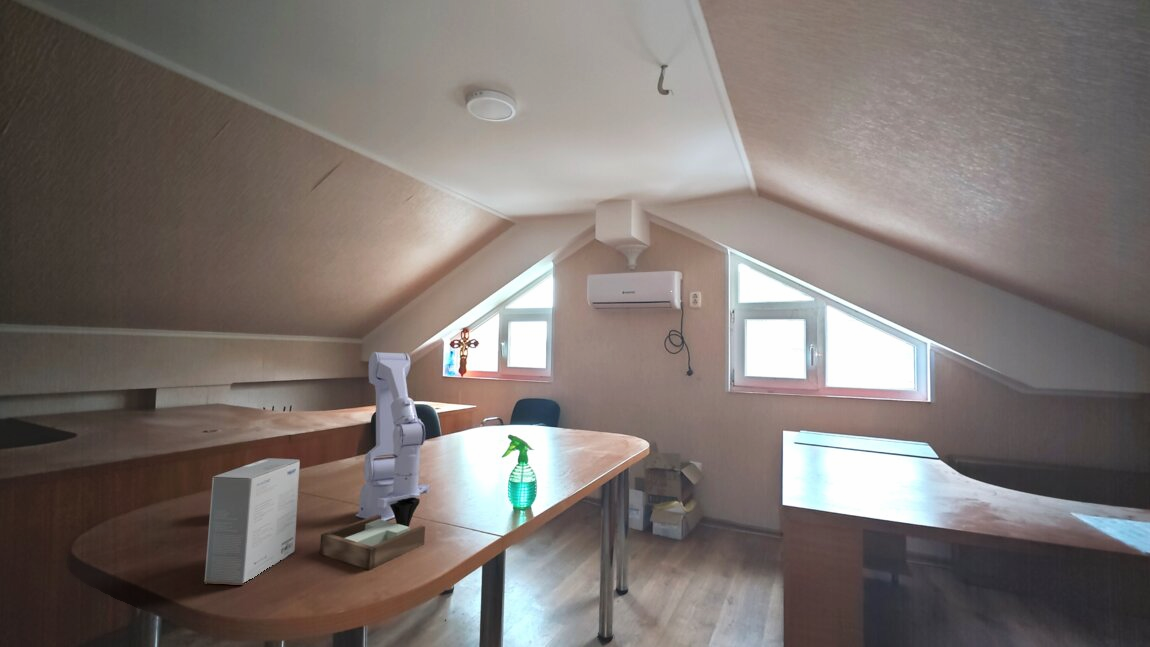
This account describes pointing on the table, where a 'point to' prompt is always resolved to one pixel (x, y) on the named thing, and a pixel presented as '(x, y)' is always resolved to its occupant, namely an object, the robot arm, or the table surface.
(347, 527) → the wooden tray
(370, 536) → the t block
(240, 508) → the hard drive box
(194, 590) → the table surface
